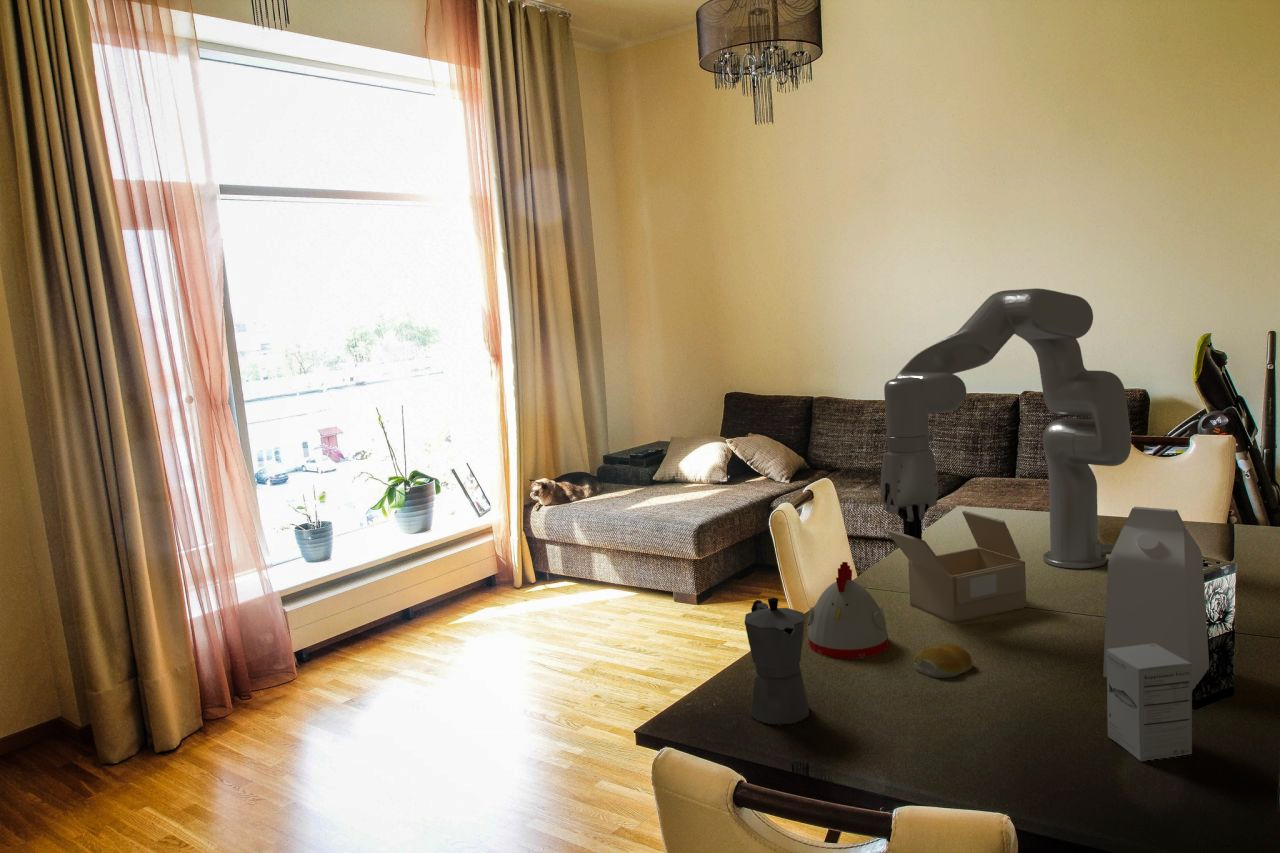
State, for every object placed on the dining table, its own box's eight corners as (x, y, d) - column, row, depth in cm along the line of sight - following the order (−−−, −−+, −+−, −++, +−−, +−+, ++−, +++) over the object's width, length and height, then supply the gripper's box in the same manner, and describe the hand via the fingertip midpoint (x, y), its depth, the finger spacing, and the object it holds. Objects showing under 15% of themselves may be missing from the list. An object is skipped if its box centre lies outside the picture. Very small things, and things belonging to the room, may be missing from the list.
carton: (977, 589, 191) (976, 546, 190) (1029, 608, 178) (1027, 562, 177) (908, 604, 186) (906, 560, 184) (956, 625, 172) (954, 577, 171)
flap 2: (979, 545, 189) (963, 510, 187) (1020, 558, 178) (1004, 521, 176) (978, 547, 189) (962, 512, 186) (1019, 559, 178) (1002, 522, 176)
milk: (1209, 668, 145) (1208, 504, 142) (1190, 693, 137) (1189, 520, 134) (1125, 653, 153) (1123, 498, 150) (1103, 676, 145) (1100, 513, 142)
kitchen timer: (799, 654, 164) (794, 572, 162) (819, 628, 176) (815, 551, 175) (879, 662, 158) (875, 576, 156) (894, 634, 170) (891, 554, 169)
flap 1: (911, 559, 183) (887, 528, 181) (949, 572, 173) (924, 540, 170) (909, 561, 183) (885, 530, 180) (947, 574, 172) (923, 542, 170)
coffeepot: (827, 725, 136) (820, 606, 134) (766, 736, 134) (758, 615, 132) (787, 686, 151) (780, 578, 149) (732, 695, 149) (724, 586, 147)
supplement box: (1105, 737, 126) (1104, 647, 125) (1158, 731, 127) (1156, 641, 125) (1139, 763, 119) (1138, 668, 117) (1194, 756, 119) (1193, 661, 118)
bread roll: (981, 668, 152) (980, 644, 152) (945, 684, 148) (944, 659, 147) (940, 654, 159) (939, 632, 159) (904, 669, 155) (903, 646, 154)
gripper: (928, 437, 180) (933, 529, 182) (862, 447, 175) (868, 542, 177) (954, 441, 173) (958, 537, 175) (886, 452, 168) (891, 551, 170)
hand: (913, 539), depth 176 cm, fingers closed
